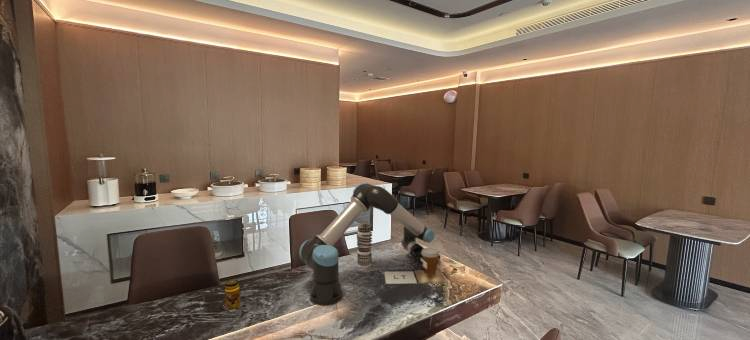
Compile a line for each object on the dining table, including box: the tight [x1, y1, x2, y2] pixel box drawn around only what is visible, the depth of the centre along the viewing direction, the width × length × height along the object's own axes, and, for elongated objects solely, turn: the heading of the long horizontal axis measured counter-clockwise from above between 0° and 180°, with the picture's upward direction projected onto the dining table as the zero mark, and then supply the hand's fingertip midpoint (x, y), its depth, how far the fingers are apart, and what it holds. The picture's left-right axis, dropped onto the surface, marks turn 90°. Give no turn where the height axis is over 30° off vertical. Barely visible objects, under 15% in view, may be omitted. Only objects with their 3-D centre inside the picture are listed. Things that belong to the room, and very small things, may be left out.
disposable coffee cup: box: [421, 247, 440, 275], centre depth 168 cm, size 10×10×12 cm
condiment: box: [224, 279, 242, 310], centre depth 140 cm, size 7×8×12 cm
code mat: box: [383, 270, 418, 285], centre depth 169 cm, size 16×14×1 cm
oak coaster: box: [414, 269, 447, 284], centre depth 169 cm, size 14×14×1 cm
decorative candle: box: [356, 221, 373, 268], centre depth 185 cm, size 9×9×25 cm
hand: (434, 264), depth 164 cm, fingers closed on disposable coffee cup, 8 cm apart
